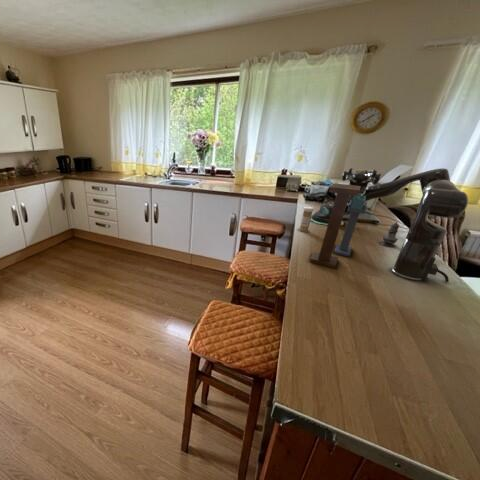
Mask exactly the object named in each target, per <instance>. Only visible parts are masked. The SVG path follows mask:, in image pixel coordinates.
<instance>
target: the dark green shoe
mask: <svg viewBox="0 0 480 480" xmlns="http://www.w3.org/2000/svg"><path fill="white" fill-rule="evenodd" d="M332 209H333V205H330V204H321V205H320V207H319V210H317V211H316V212H314V213H313V214H312V216H311V220H310V222H313V223H316V224H319V225H325V226H328V223H329V219H330V216H331V212H332ZM344 224H345V222H344V221H342V222H341V225H340V226H343V225H344Z"/></svg>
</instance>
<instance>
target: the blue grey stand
mask: <svg viewBox="0 0 480 480" xmlns="http://www.w3.org/2000/svg"><path fill="white" fill-rule="evenodd" d="M351 202H352V200H350V203H349V204H348V206H347V209H346V212H350V214H349V216H348V219H347V223H346V226H345V229H344V233H343V236H342V238H341V242H340V244H337V243H336V244H335V247H334V248H335V249H334V250H333V254H335V255H339V256H342V257H343V256H344V257H347V258H350V257H351V254H352V250H353V249H352V247H351V246H350V243H351V240H352V237H353V234H354V231H355V229H356V225H357V222H358V220H359V217H360V216H359V215H360V214H361V215H365V213H366V209H367V207H368V201H365V203H364V206H363V209H362V210H359V209H352V208H351V205H352V204H351Z"/></svg>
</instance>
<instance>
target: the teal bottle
mask: <svg viewBox="0 0 480 480" xmlns="http://www.w3.org/2000/svg"><path fill="white" fill-rule="evenodd" d="M363 195H364V193H363V194H358V196H356V195H355V196H354V199H353V202H352V205H351V208H352V209H359V210H362V209H363V206H364V204H365V202H366V201H365V199H366V196H363Z"/></svg>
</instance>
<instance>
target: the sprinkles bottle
mask: <svg viewBox="0 0 480 480" xmlns="http://www.w3.org/2000/svg"><path fill="white" fill-rule="evenodd" d="M313 212H314V207H313V206H304V207H303V211H302V216H301V220H300V225H299V228H298V230H299V231H300V232H302V233H303V232H304V233H306V232H308V231H309V228H310V224H311V216H312V215H313Z"/></svg>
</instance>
